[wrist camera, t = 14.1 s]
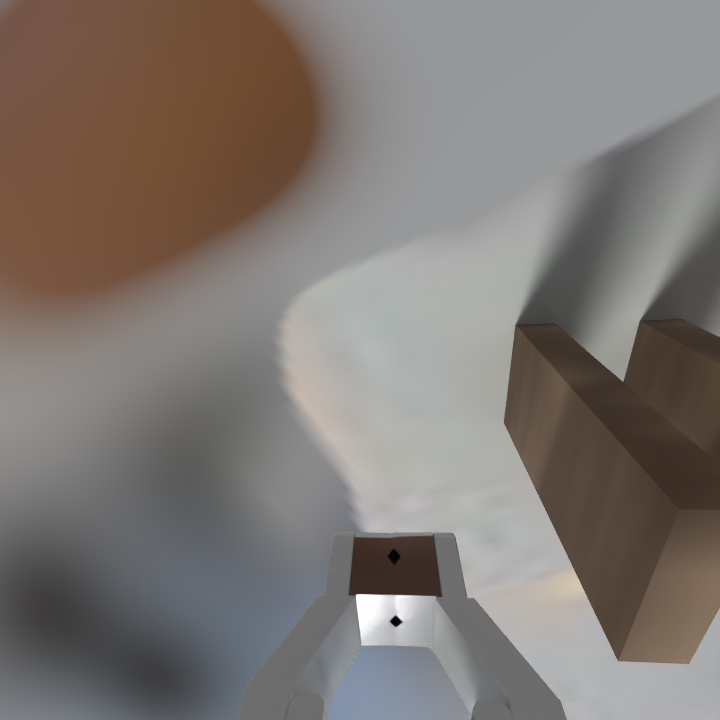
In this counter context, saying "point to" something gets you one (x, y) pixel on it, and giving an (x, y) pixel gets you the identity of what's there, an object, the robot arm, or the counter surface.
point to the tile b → (679, 378)
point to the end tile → (618, 496)
